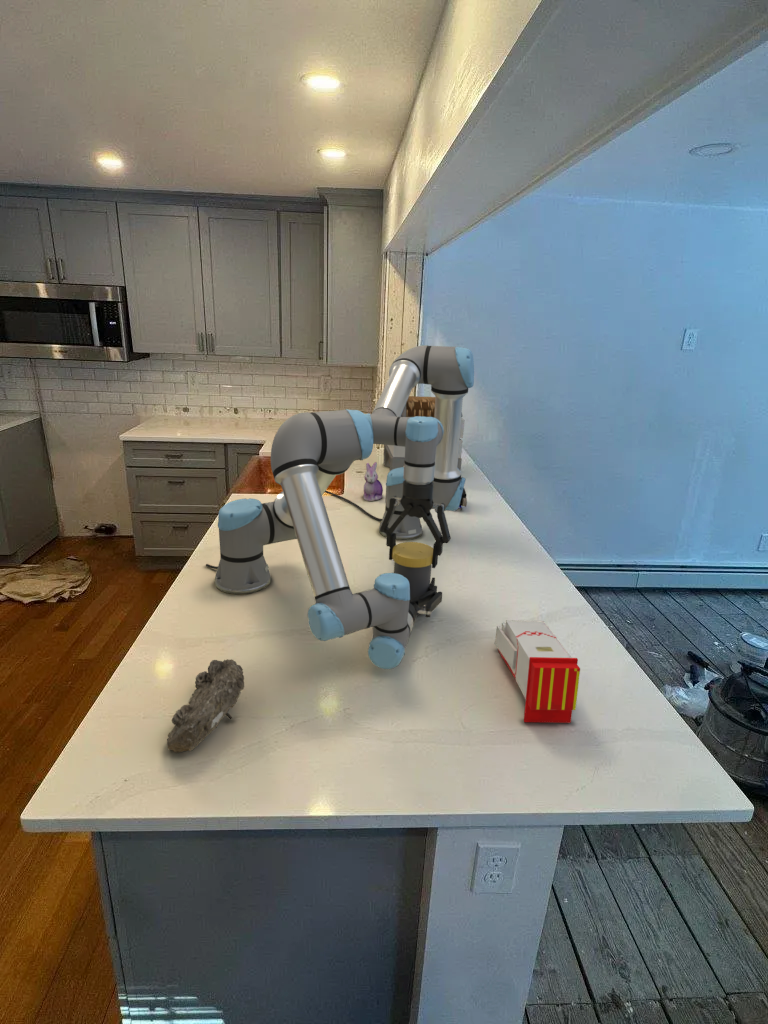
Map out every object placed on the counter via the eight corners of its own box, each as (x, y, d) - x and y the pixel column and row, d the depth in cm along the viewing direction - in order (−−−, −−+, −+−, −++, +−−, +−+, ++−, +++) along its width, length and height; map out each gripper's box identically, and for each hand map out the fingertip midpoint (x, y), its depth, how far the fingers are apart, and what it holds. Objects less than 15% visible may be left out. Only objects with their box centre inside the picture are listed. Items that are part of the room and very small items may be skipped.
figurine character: (467, 515, 225) (461, 499, 238) (469, 498, 221) (463, 482, 235) (450, 514, 224) (445, 498, 238) (452, 497, 221) (447, 482, 234)
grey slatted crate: (382, 463, 289) (386, 382, 275) (445, 464, 293) (451, 384, 279) (390, 482, 257) (394, 392, 243) (460, 483, 261) (468, 394, 247)
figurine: (367, 502, 230) (368, 467, 225) (357, 495, 238) (358, 460, 233) (388, 500, 234) (389, 465, 229) (377, 492, 242) (378, 458, 237)
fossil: (192, 660, 117) (244, 628, 112) (224, 691, 120) (276, 661, 115) (142, 746, 98) (202, 712, 93) (182, 779, 101) (242, 748, 96)
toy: (541, 605, 135) (589, 664, 106) (536, 657, 138) (581, 729, 108) (490, 604, 135) (524, 663, 105) (486, 656, 137) (518, 728, 108)
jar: (384, 605, 152) (387, 550, 146) (410, 594, 158) (413, 541, 152) (409, 619, 145) (413, 562, 140) (435, 608, 151) (440, 553, 146)
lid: (383, 556, 147) (383, 548, 146) (413, 546, 154) (414, 538, 153) (412, 571, 139) (413, 562, 139) (443, 560, 146) (444, 551, 146)
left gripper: (351, 627, 136) (373, 586, 157) (444, 641, 132) (454, 597, 153) (352, 599, 134) (374, 561, 154) (446, 613, 129) (456, 572, 150)
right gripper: (468, 483, 139) (460, 564, 147) (379, 470, 146) (376, 548, 154) (461, 491, 133) (453, 576, 140) (368, 478, 140) (365, 559, 147)
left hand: (414, 579), depth 153 cm, fingers closed on jar, 10 cm apart
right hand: (413, 561), depth 147 cm, fingers closed on lid, 11 cm apart
